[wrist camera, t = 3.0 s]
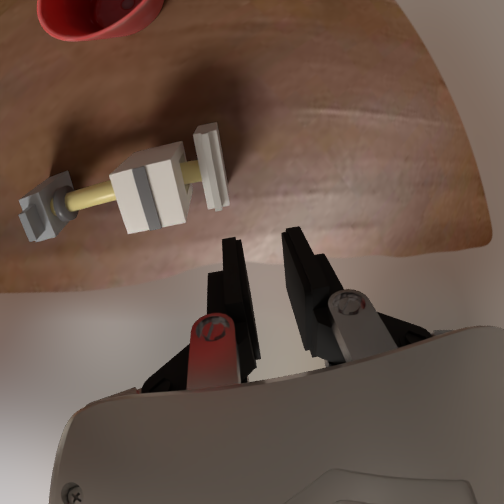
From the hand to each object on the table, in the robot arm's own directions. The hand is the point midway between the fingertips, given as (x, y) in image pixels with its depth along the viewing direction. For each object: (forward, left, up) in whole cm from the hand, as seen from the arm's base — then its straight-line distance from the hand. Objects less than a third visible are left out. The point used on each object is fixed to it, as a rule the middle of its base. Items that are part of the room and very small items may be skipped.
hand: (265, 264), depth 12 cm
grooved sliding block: (+7, 0, -19) cm, 20 cm away
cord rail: (+12, 0, -21) cm, 25 cm away
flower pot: (+8, -19, -21) cm, 30 cm away
